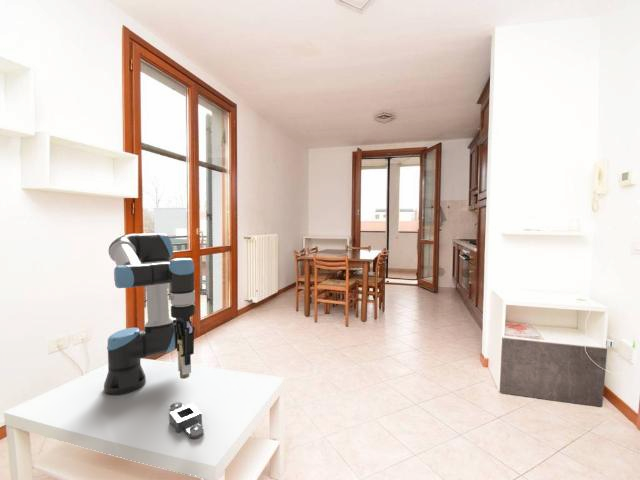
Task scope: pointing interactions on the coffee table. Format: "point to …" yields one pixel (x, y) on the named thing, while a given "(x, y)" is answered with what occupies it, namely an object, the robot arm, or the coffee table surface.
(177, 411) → the chain ends
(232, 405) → the coffee table surface
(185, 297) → the robot arm
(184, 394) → the coffee table surface
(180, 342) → the pin
